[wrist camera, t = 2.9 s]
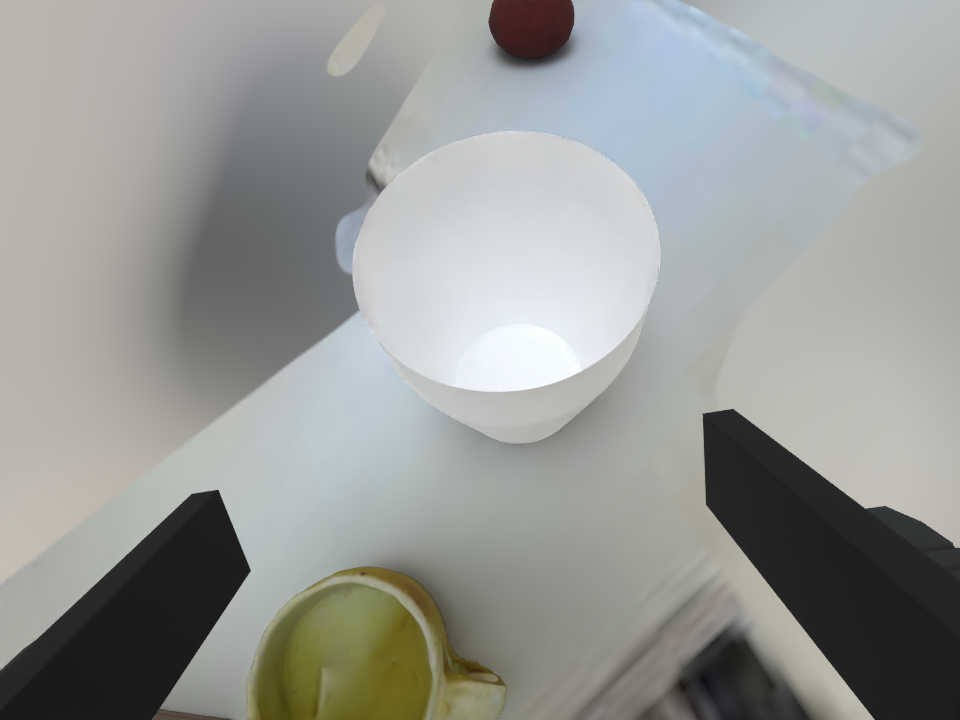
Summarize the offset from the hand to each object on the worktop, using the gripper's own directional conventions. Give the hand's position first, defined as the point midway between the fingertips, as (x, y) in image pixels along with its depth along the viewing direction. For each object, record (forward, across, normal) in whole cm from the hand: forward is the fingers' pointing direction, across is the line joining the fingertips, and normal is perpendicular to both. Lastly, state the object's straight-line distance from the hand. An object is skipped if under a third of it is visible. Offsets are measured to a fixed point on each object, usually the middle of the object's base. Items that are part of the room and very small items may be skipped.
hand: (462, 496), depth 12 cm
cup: (+22, +2, -5) cm, 22 cm away
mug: (+11, -7, -18) cm, 22 cm away
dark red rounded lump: (+44, +10, +23) cm, 51 cm away
